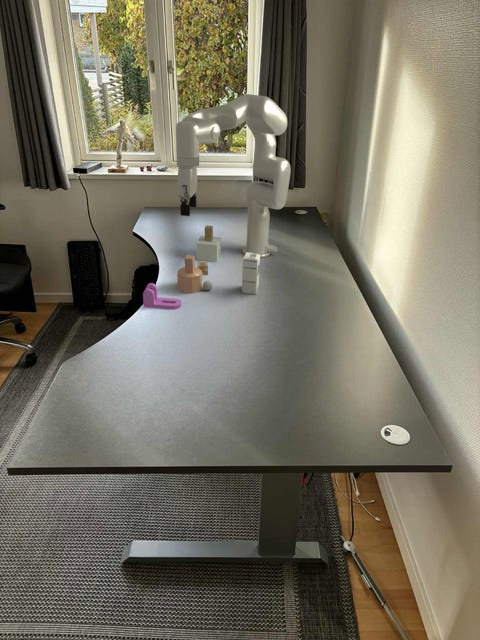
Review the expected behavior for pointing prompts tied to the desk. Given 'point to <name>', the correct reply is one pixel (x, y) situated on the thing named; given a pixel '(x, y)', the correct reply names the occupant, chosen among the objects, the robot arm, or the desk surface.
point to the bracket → (158, 299)
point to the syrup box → (250, 273)
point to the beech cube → (203, 267)
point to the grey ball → (207, 285)
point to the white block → (208, 246)
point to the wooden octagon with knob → (189, 276)
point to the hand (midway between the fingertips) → (188, 211)
